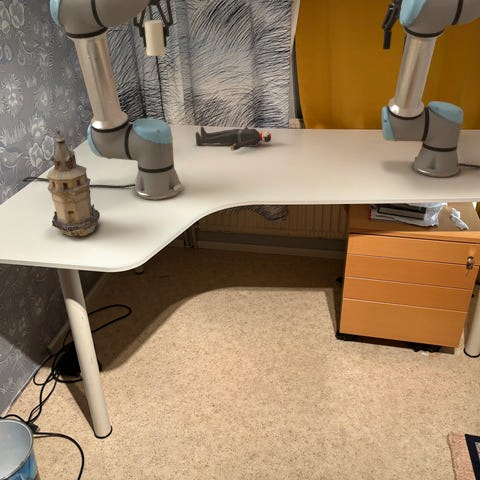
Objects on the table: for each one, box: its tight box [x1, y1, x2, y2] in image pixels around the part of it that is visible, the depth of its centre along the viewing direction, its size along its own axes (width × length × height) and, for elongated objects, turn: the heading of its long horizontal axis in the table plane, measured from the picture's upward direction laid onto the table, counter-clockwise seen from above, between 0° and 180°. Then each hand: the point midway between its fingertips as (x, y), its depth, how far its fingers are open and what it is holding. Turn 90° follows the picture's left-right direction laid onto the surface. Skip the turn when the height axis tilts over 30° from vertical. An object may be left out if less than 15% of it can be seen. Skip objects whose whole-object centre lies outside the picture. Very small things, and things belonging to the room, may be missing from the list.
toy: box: [195, 125, 272, 152], centre depth 216 cm, size 26×6×30 cm
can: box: [143, 19, 166, 57], centre depth 193 cm, size 7×7×11 cm
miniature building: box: [46, 129, 101, 237], centre depth 148 cm, size 13×14×30 cm
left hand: (155, 46), depth 194 cm, fingers closed on can, 7 cm apart
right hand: (395, 52), depth 204 cm, fingers open, 13 cm apart
